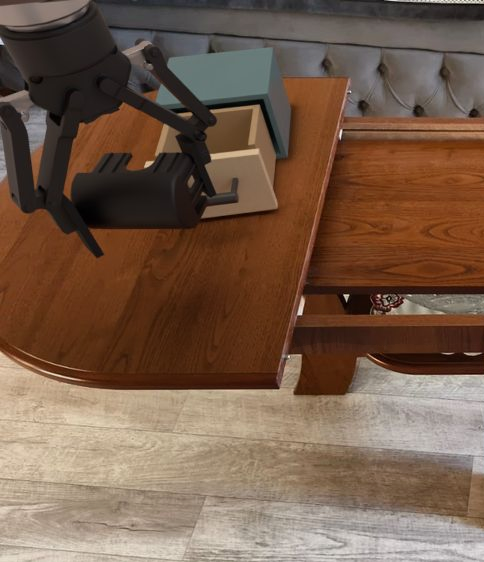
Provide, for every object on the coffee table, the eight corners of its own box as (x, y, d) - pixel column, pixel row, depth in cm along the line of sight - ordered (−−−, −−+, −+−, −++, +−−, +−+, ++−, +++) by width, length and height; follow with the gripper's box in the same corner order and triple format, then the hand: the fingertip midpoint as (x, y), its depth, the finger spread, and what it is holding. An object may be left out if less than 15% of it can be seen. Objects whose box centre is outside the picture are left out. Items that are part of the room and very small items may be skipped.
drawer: (275, 230, 86) (255, 175, 80) (166, 244, 85) (137, 189, 78) (281, 156, 97) (264, 102, 90) (184, 168, 95) (160, 114, 89)
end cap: (93, 246, 67) (59, 193, 63) (122, 200, 72) (93, 147, 67) (192, 246, 67) (166, 192, 62) (214, 200, 72) (192, 147, 67)
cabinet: (287, 158, 98) (267, 93, 90) (183, 170, 96) (153, 105, 89) (291, 109, 106) (273, 46, 99) (195, 120, 105) (169, 57, 97)
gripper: (162, -47, 61) (236, 152, 77) (-142, 51, 50) (18, 263, 65) (205, -25, 58) (273, 180, 73) (-112, 87, 46) (50, 302, 62)
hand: (153, 219), depth 69 cm, fingers closed on end cap, 11 cm apart
